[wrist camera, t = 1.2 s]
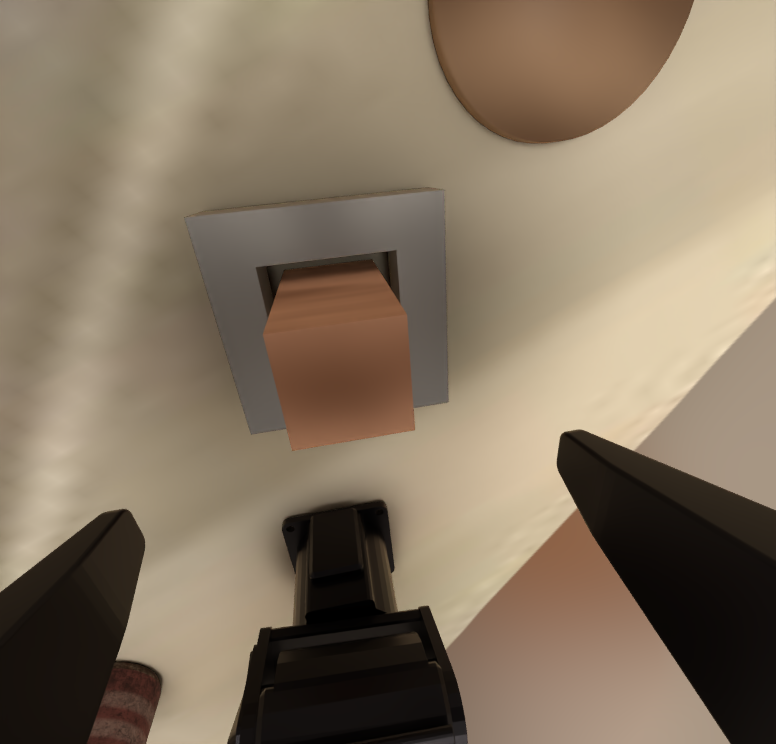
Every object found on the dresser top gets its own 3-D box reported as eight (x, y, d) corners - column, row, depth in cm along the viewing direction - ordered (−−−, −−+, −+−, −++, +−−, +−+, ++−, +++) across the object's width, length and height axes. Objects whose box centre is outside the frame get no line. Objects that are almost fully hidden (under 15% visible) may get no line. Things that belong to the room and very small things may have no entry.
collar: (435, 378, 21) (448, 402, 19) (258, 406, 21) (251, 434, 18) (428, 187, 17) (444, 189, 15) (202, 211, 16) (184, 217, 14)
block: (380, 339, 20) (415, 430, 13) (301, 350, 20) (292, 450, 13) (372, 259, 18) (407, 314, 11) (284, 270, 18) (262, 334, 11)
